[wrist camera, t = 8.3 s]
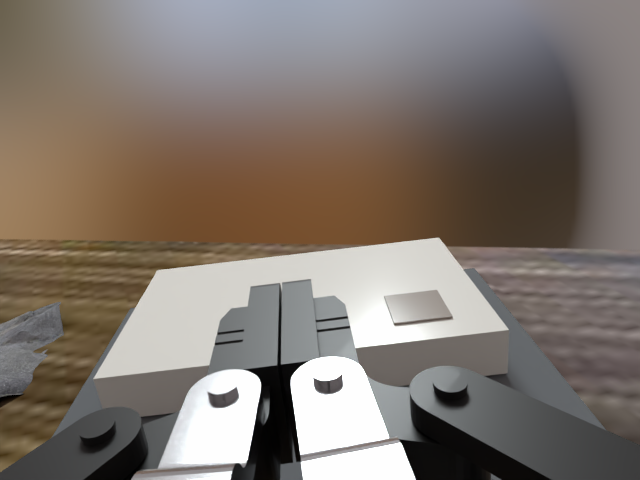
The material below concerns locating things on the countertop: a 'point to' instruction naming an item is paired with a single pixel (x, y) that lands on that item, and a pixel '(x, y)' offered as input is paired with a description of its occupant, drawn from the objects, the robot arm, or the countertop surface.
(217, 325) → the flat white box
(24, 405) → the countertop surface
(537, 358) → the rubber mat
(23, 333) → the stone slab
